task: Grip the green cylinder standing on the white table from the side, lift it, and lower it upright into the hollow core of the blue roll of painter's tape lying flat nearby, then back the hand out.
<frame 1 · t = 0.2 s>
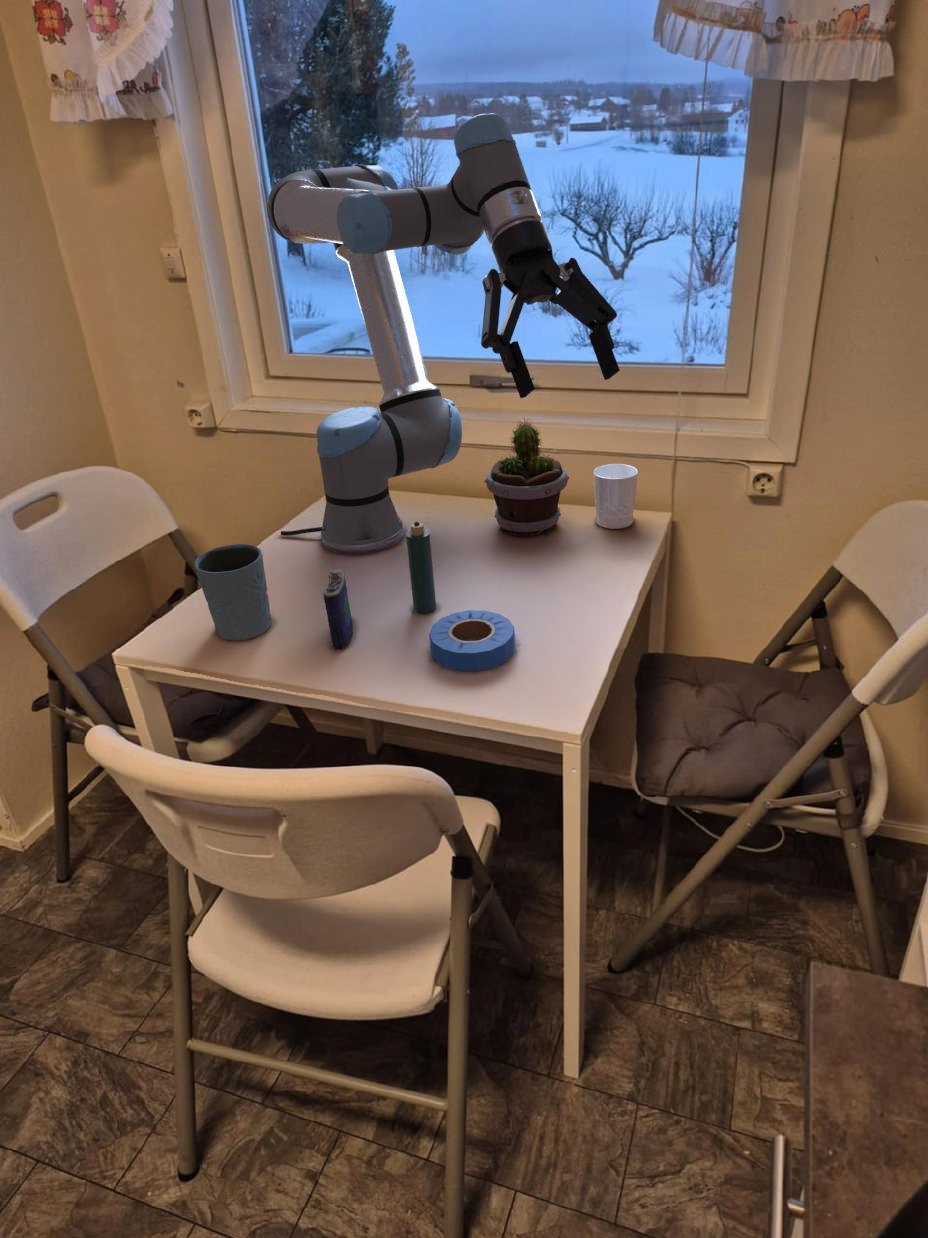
hand: (571, 384, 112), 35 cm above the table, tool tilted 35°, fingers open, 13 cm apart
tape roll: (472, 648, 124), on the table
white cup: (614, 523, 160), on the table
flask: (343, 635, 130), on the table
blue cup 2: (243, 627, 134), on the table
flowerpot: (528, 526, 161), on the table
green cylinder: (425, 608, 135), on the table
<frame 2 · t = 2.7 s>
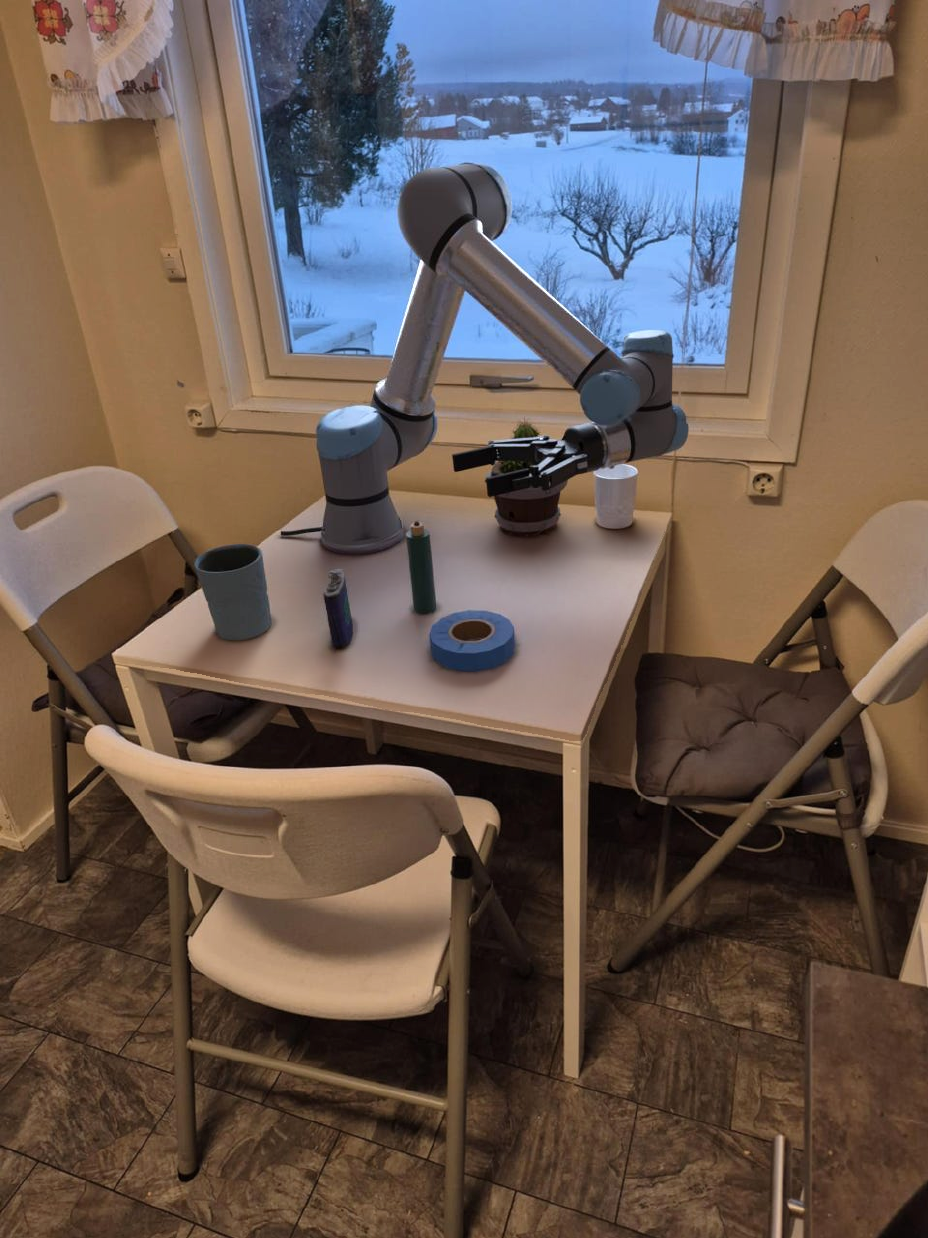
hand: (469, 474, 128), 20 cm above the table, tool horizontal, fingers open, 13 cm apart
nothing on the table moved.
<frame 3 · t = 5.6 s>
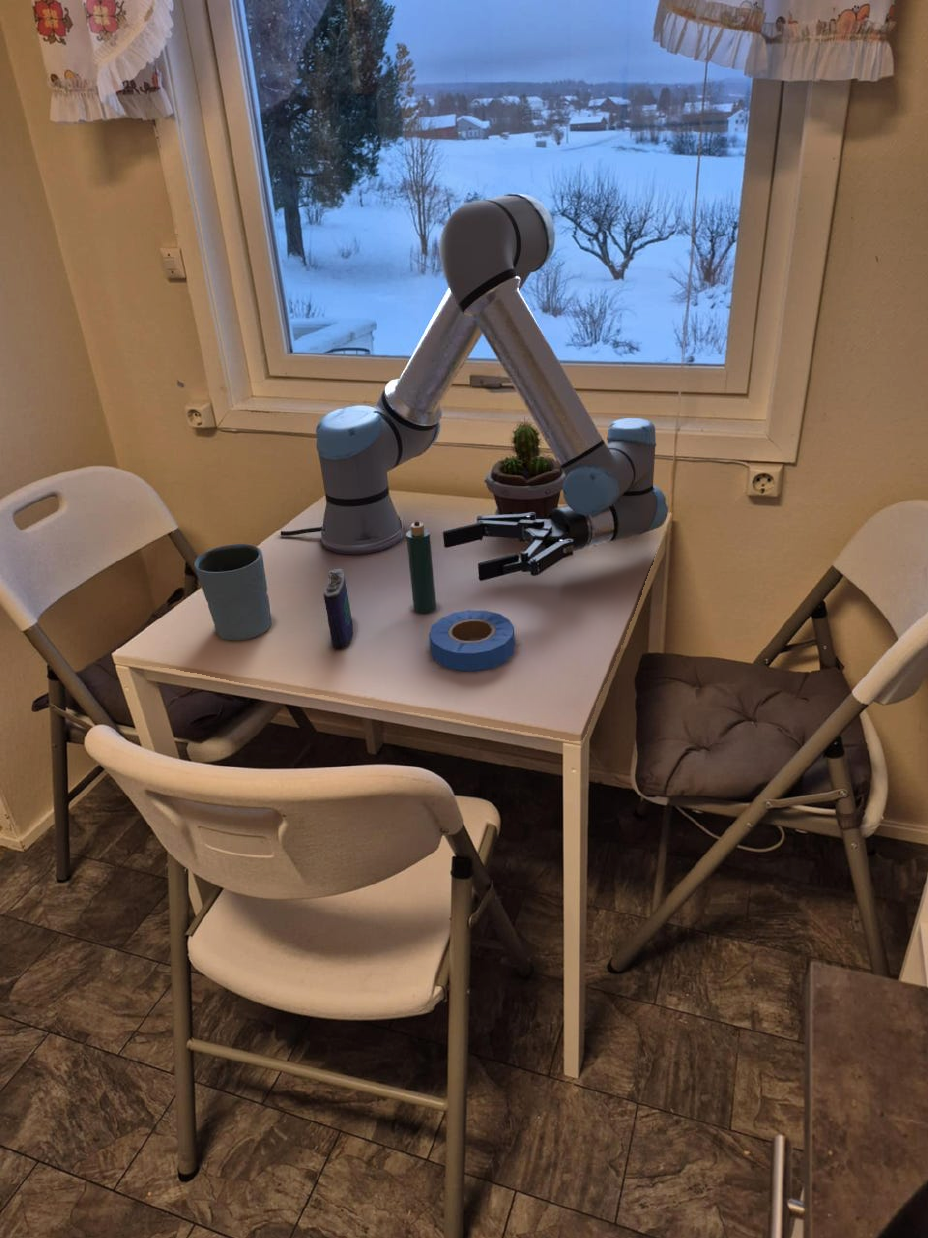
hand: (460, 555, 133), 8 cm above the table, tool horizontal, fingers open, 13 cm apart
nothing on the table moved.
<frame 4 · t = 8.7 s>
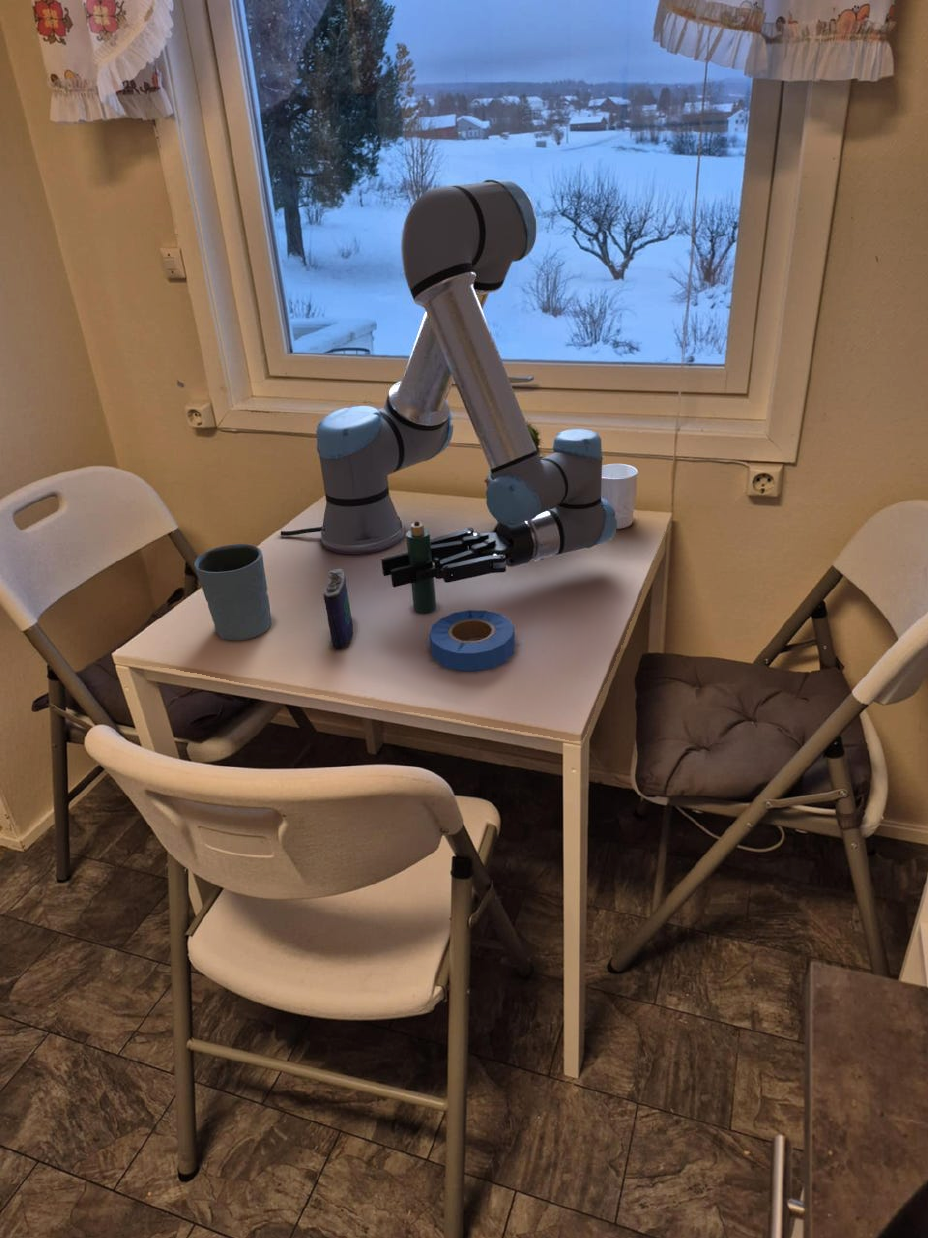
hand: (387, 573, 130), 8 cm above the table, tool horizontal, fingers closed on green cylinder, 4 cm apart
green cylinder: (425, 608, 135), on the table, touching gripper
everything else where it was.
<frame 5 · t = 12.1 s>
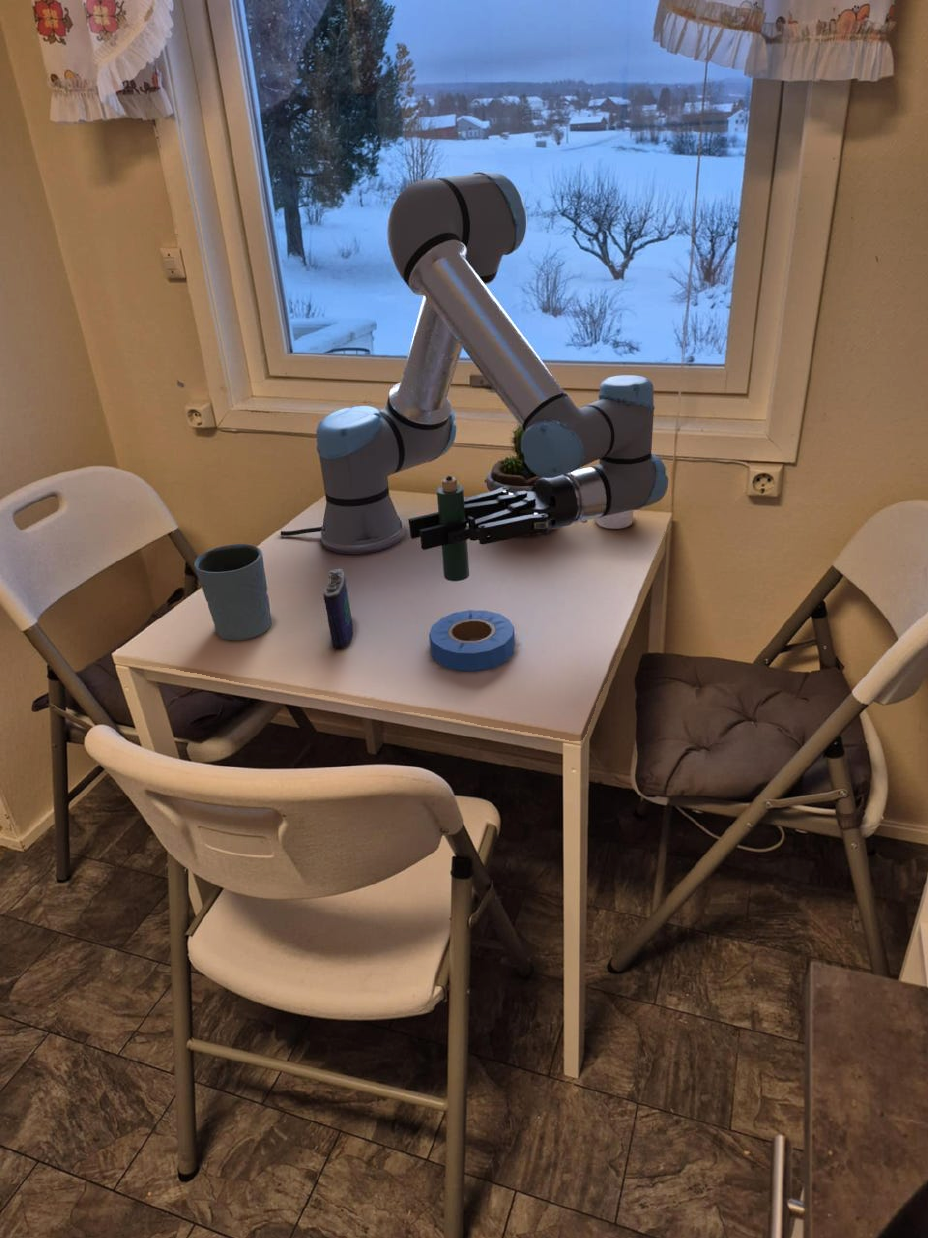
hand: (416, 534, 116), 18 cm above the table, tool horizontal, fingers closed on green cylinder, 4 cm apart
green cylinder: (456, 575, 121), point 10 cm above the table, touching gripper
everything else where it was.
when the fingers open (8 cm above the table, at t = 15.6 s): green cylinder stays where it is, resting in tape roll.
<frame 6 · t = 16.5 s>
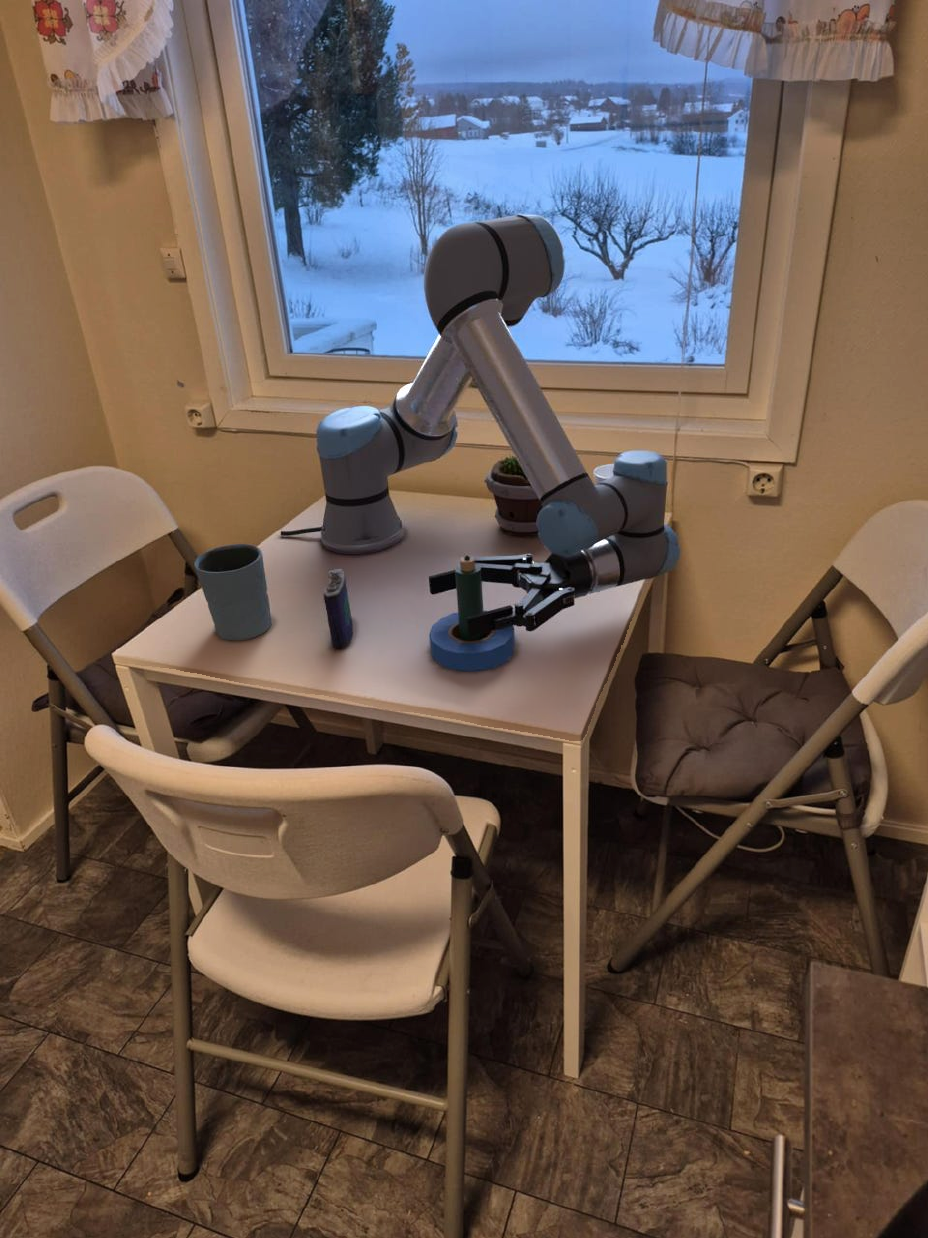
hand: (447, 605, 119), 8 cm above the table, tool horizontal, fingers open, 13 cm apart
green cylinder: (473, 648, 124), resting in tape roll
everything else where it was.
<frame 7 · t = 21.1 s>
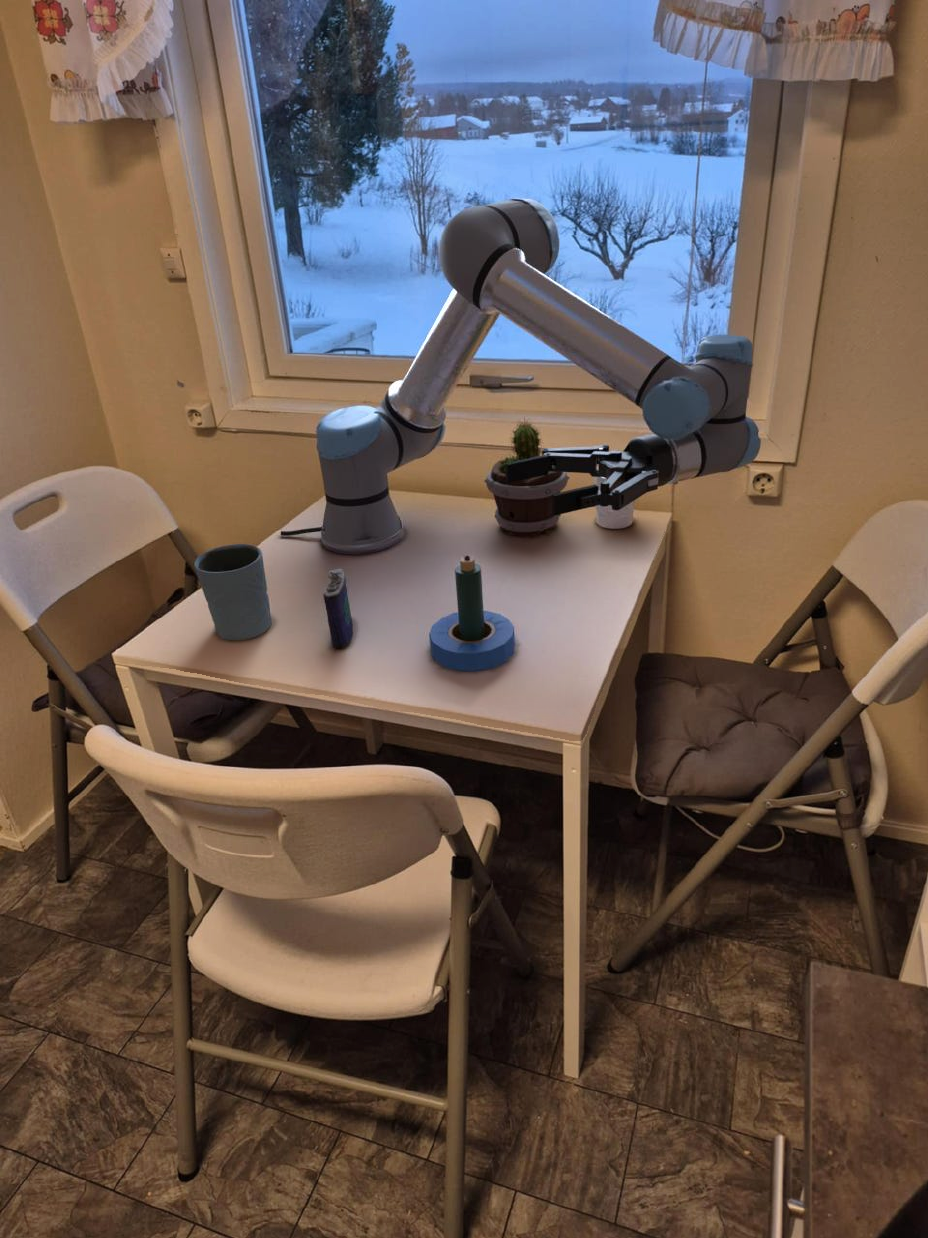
hand: (528, 488, 116), 23 cm above the table, tool horizontal, fingers open, 13 cm apart
nothing on the table moved.
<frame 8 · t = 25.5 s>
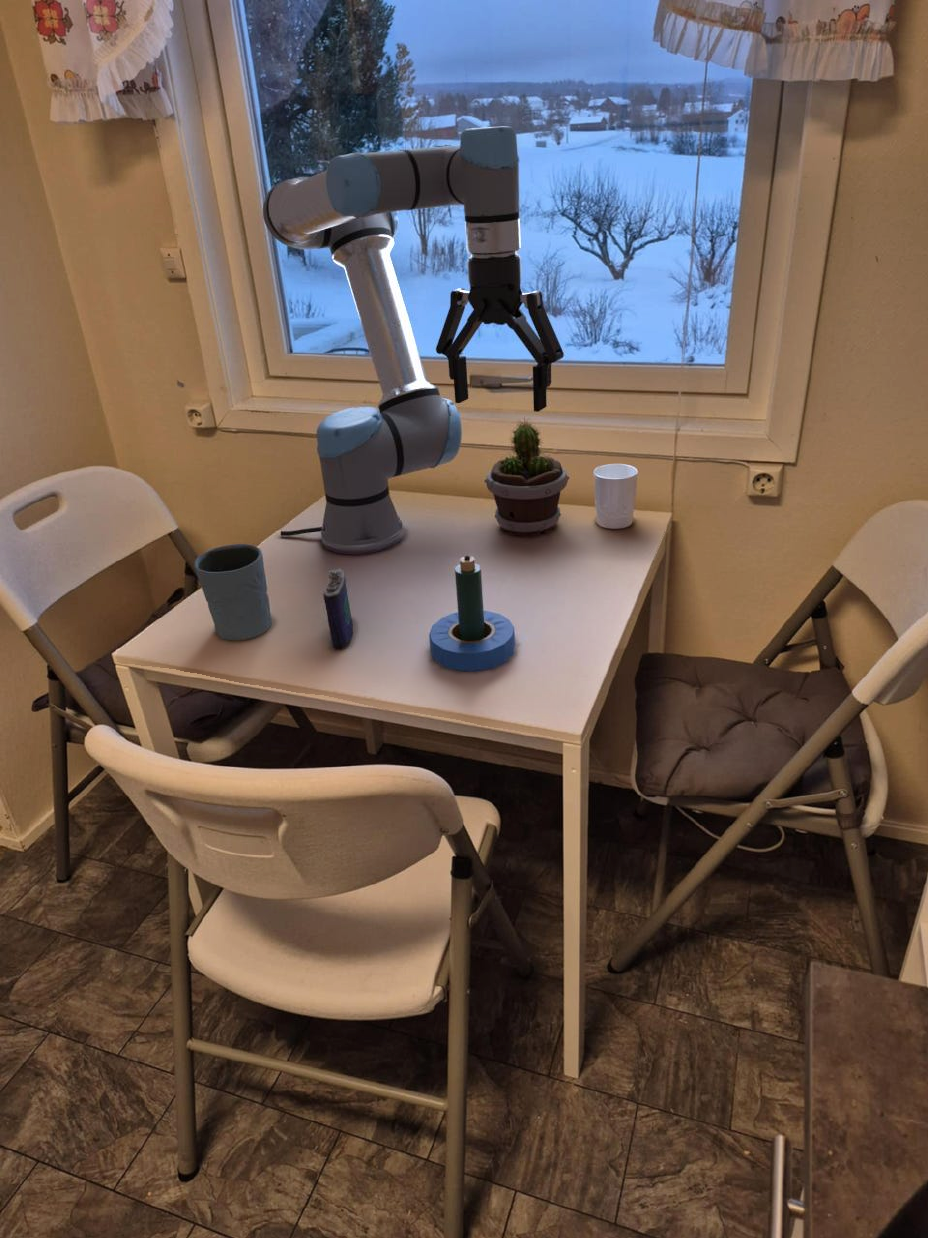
hand: (500, 405, 130), 29 cm above the table, tool pointing down, fingers open, 13 cm apart
nothing on the table moved.
at the end: green cylinder 0.1 cm from the tape roll (horizontally); green cylinder tilted 0°; green cylinder resting in tape roll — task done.
